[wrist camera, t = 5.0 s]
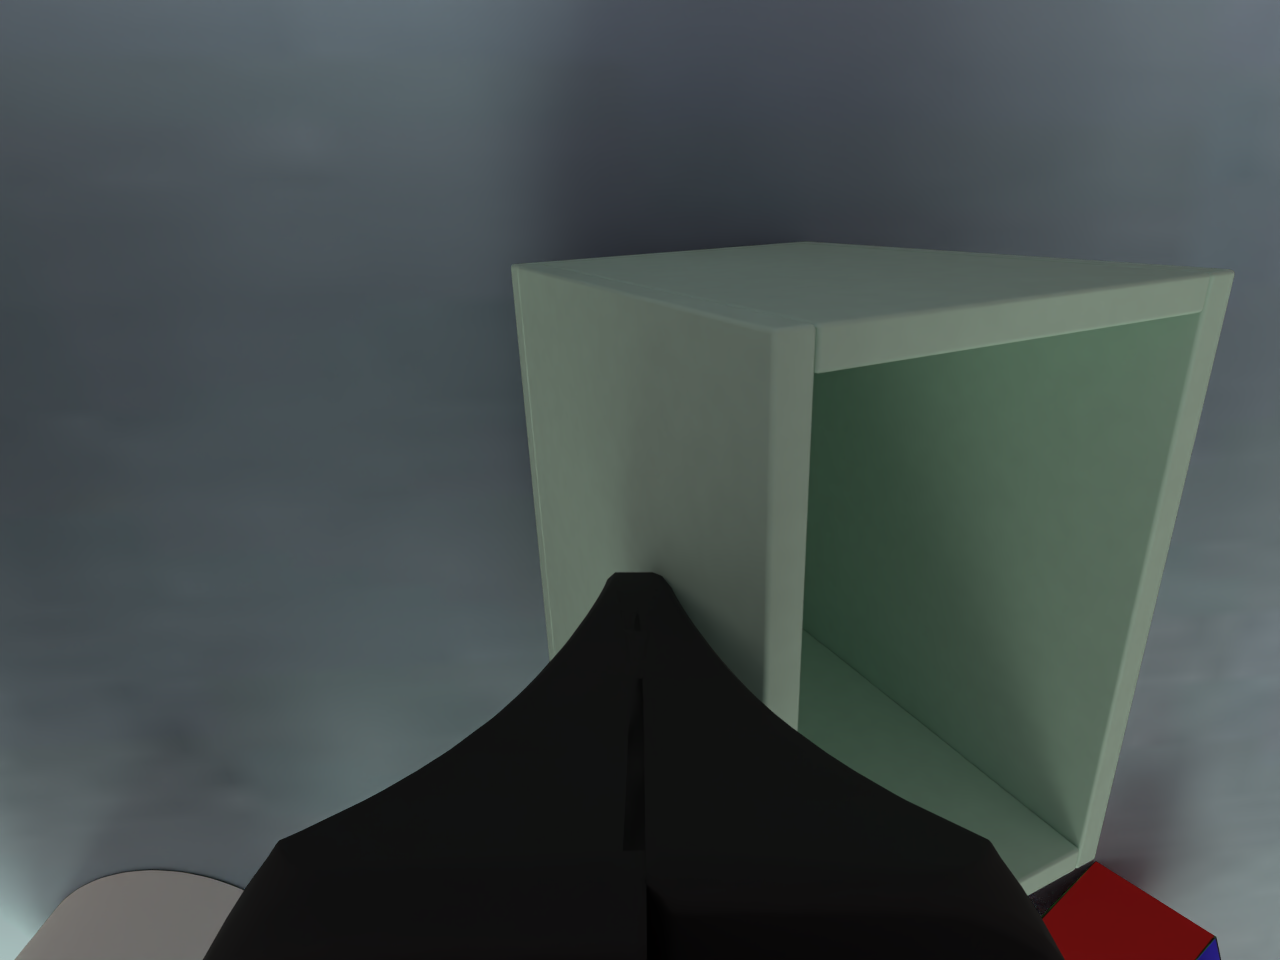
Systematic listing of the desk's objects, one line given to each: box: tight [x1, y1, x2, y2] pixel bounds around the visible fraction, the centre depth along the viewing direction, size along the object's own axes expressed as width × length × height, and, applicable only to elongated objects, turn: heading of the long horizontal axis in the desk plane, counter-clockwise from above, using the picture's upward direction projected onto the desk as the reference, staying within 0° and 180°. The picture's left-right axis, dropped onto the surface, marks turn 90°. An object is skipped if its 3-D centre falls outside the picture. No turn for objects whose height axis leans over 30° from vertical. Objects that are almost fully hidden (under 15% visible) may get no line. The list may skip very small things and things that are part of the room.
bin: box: [511, 241, 1234, 895], centre depth 14 cm, size 7×10×9 cm
